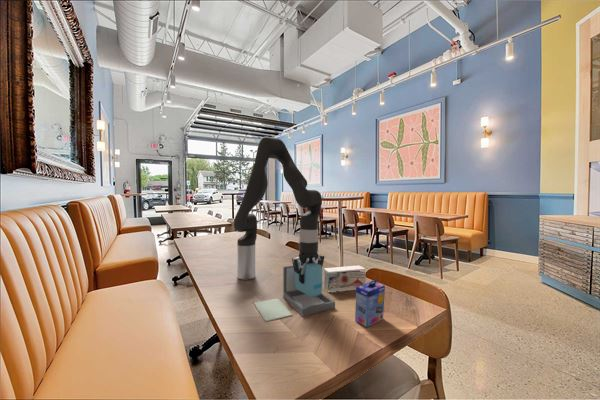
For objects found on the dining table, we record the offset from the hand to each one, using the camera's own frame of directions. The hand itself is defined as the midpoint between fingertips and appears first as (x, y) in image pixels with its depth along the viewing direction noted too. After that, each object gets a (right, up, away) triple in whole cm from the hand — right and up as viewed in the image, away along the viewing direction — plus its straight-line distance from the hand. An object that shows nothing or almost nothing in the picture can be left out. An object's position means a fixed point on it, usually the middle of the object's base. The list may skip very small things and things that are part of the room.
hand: (308, 281), depth 98 cm
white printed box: (+18, -8, +16) cm, 25 cm away
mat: (-14, -8, -6) cm, 17 cm away
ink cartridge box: (+21, -9, -13) cm, 27 cm away
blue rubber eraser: (0, -4, 0) cm, 4 cm away
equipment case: (0, -8, 0) cm, 9 cm away
